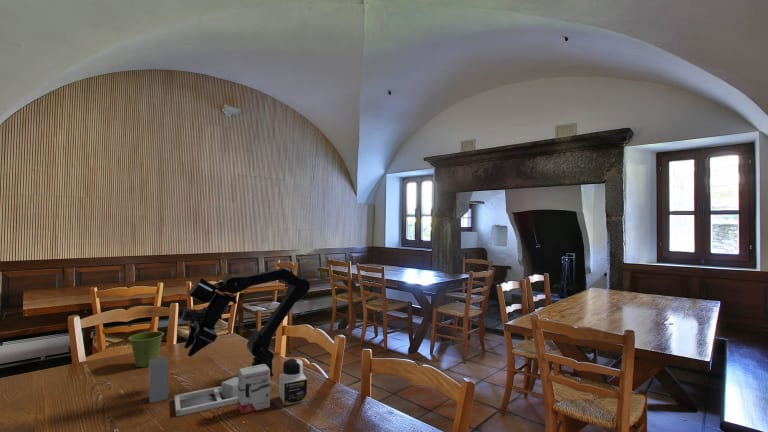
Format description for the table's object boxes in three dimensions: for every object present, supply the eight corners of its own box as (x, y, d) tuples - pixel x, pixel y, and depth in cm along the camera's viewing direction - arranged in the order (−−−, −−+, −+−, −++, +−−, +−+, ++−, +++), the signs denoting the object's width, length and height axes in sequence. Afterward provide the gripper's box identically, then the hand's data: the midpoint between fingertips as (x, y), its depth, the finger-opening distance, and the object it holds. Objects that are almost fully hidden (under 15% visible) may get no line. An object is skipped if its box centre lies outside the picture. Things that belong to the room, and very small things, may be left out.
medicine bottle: (284, 405, 120) (284, 366, 120) (279, 396, 126) (279, 359, 126) (307, 400, 123) (307, 362, 123) (300, 392, 129) (301, 355, 130)
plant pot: (155, 356, 162) (155, 329, 162) (169, 363, 155) (169, 334, 155) (122, 365, 152) (123, 336, 152) (136, 372, 145) (136, 342, 145)
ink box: (241, 415, 114) (241, 374, 114) (237, 408, 118) (237, 368, 118) (270, 407, 119) (270, 368, 119) (265, 400, 123) (265, 363, 123)
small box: (235, 390, 130) (235, 375, 130) (247, 394, 128) (247, 379, 128) (220, 397, 125) (220, 382, 126) (232, 401, 123) (232, 386, 123)
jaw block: (166, 393, 128) (166, 356, 128) (168, 399, 124) (168, 361, 124) (148, 397, 125) (149, 359, 125) (149, 403, 121) (150, 364, 121)
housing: (247, 385, 134) (247, 380, 134) (255, 399, 124) (255, 394, 124) (174, 400, 123) (174, 395, 123) (176, 416, 113) (176, 411, 113)
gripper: (190, 293, 139) (162, 334, 134) (198, 303, 123) (166, 350, 118) (218, 308, 144) (191, 347, 139) (229, 319, 128) (200, 364, 123)
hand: (187, 351), depth 130 cm, fingers open, 9 cm apart
